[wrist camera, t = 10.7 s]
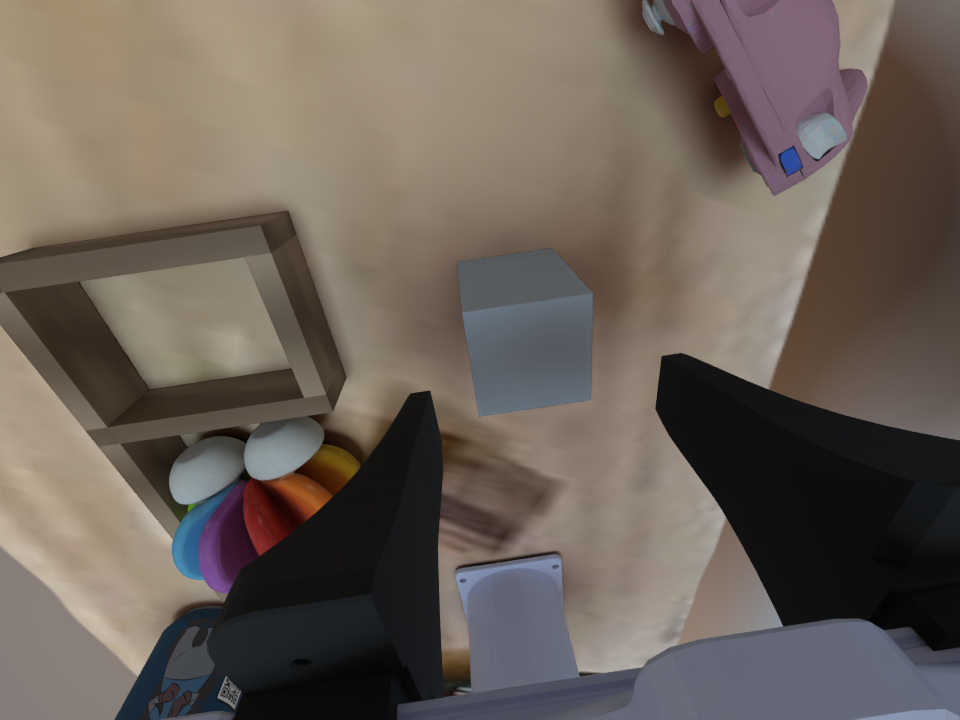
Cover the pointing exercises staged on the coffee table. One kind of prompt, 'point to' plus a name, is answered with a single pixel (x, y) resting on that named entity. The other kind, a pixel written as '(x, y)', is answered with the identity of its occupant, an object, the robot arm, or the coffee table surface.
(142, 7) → the coffee table surface
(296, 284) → the frame
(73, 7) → the coffee table surface
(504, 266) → the block
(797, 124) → the pink toy vehicle
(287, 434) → the rainbow petal rattle
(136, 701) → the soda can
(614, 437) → the coffee table surface
